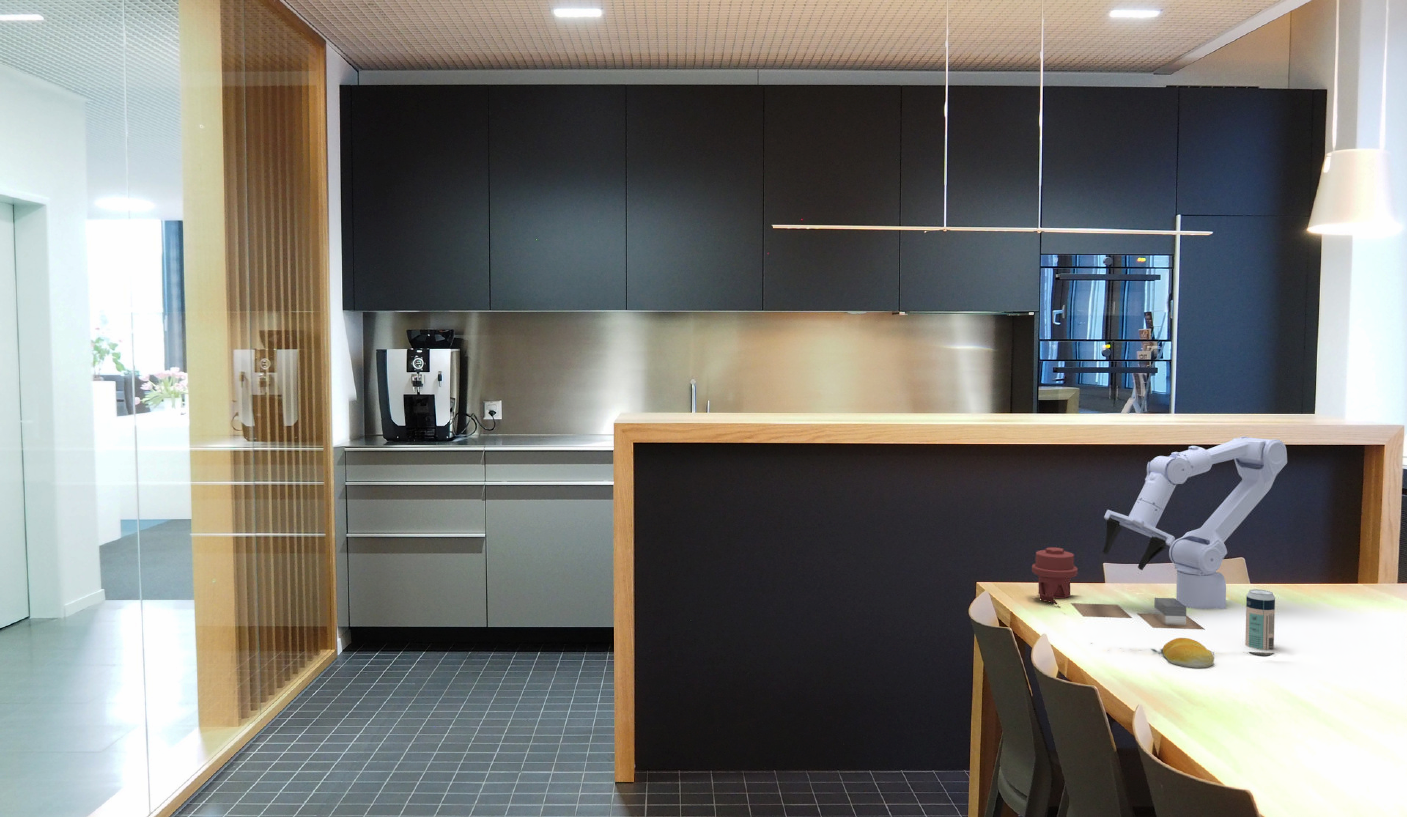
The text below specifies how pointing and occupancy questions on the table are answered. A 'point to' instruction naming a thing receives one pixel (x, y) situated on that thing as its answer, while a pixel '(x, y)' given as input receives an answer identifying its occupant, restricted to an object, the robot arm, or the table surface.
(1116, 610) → the stand
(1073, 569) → the mechanical component
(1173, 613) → the block
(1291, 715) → the table surface
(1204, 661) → the bread roll
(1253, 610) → the beer can
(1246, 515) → the robot arm
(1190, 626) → the stand
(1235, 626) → the table surface
